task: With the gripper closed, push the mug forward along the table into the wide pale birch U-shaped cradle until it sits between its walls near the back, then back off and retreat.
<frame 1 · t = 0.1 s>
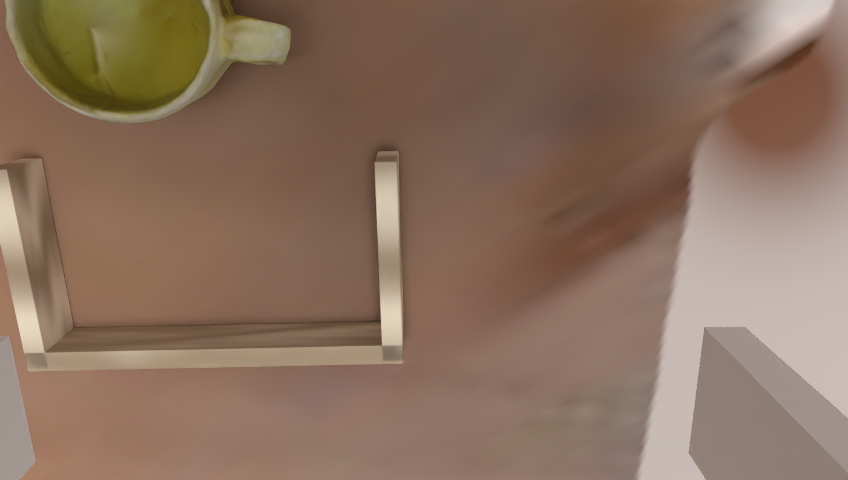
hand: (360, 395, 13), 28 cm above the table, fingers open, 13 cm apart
mug: (197, 31, 37), on the table
cradle: (219, 235, 41), on the table
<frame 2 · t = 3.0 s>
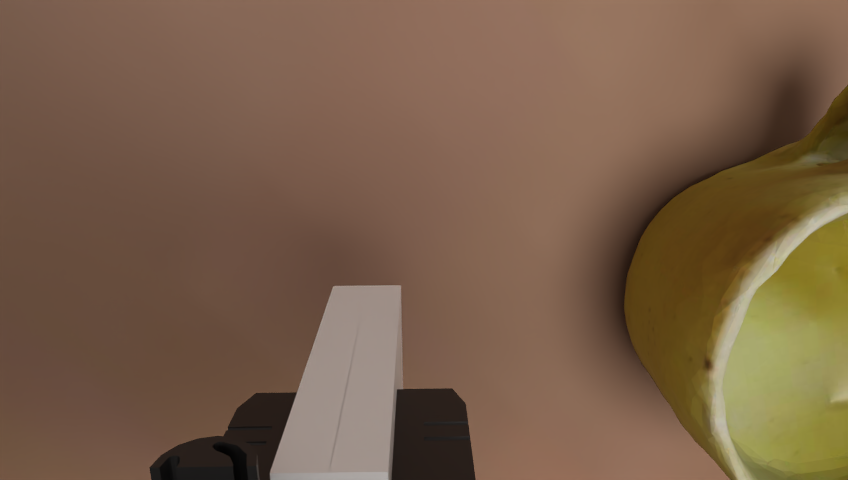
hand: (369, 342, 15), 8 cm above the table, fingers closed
mug: (751, 227, 22), on the table
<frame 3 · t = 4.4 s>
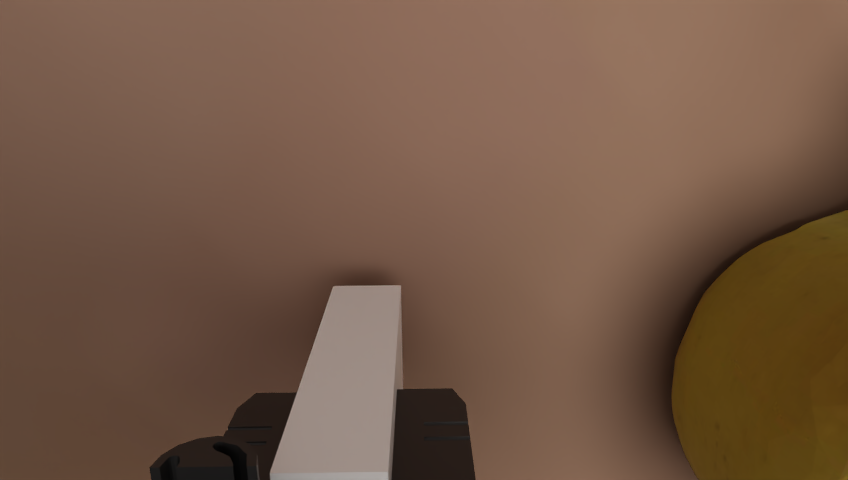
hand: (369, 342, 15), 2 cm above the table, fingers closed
mug: (839, 293, 17), on the table
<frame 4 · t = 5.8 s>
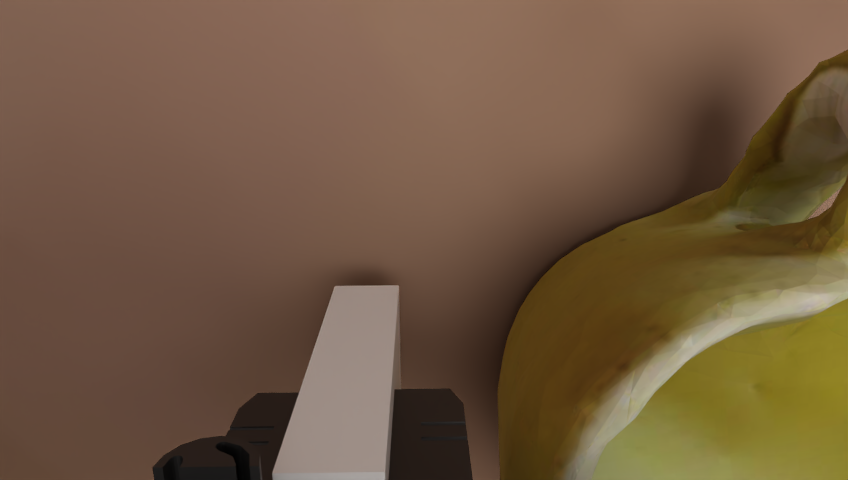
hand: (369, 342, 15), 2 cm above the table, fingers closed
mug: (671, 295, 17), on the table, touching gripper
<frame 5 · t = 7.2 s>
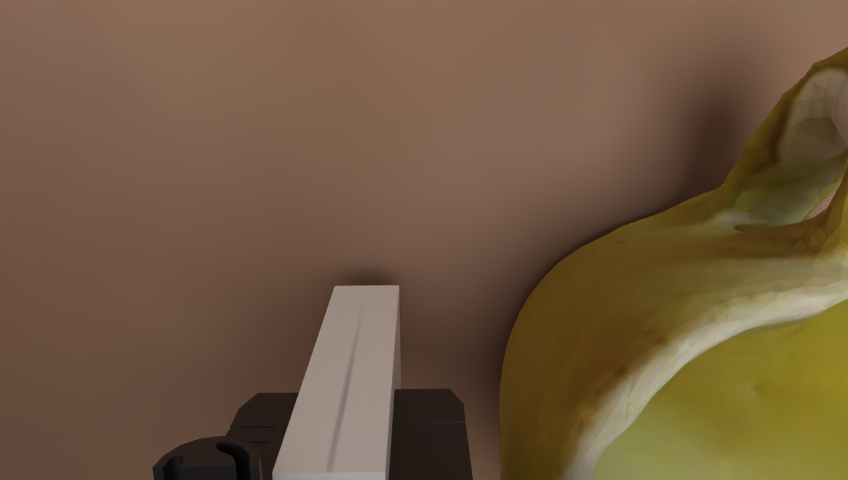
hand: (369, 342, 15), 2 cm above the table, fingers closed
mug: (672, 295, 17), on the table, touching gripper
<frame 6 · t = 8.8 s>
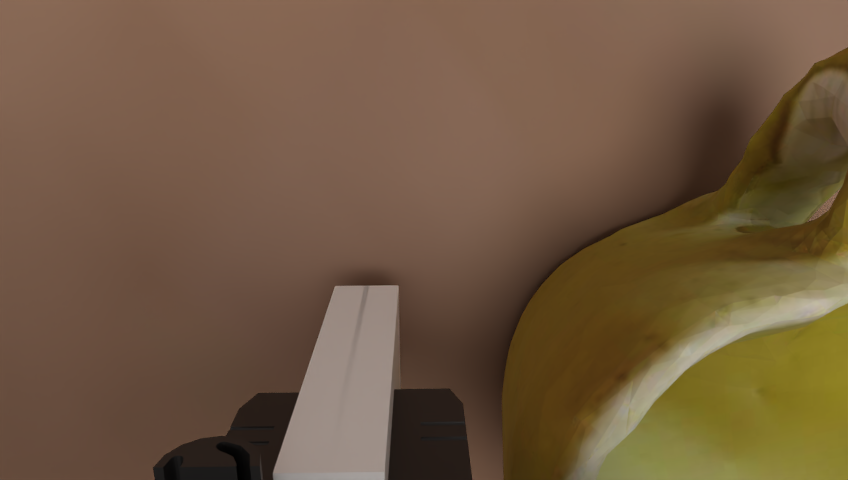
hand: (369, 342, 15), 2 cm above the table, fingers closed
mug: (675, 297, 17), on the table, touching gripper
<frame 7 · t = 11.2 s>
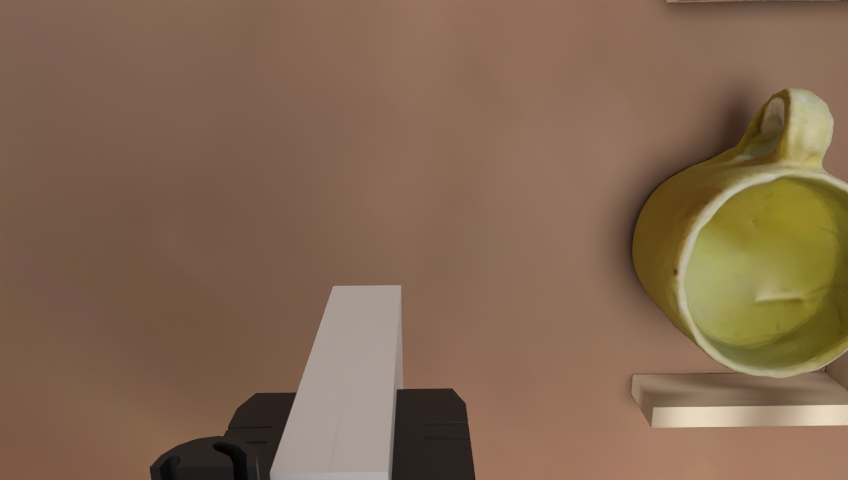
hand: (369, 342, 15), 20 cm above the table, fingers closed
mug: (713, 202, 35), on the table
cradle: (743, 203, 35), on the table
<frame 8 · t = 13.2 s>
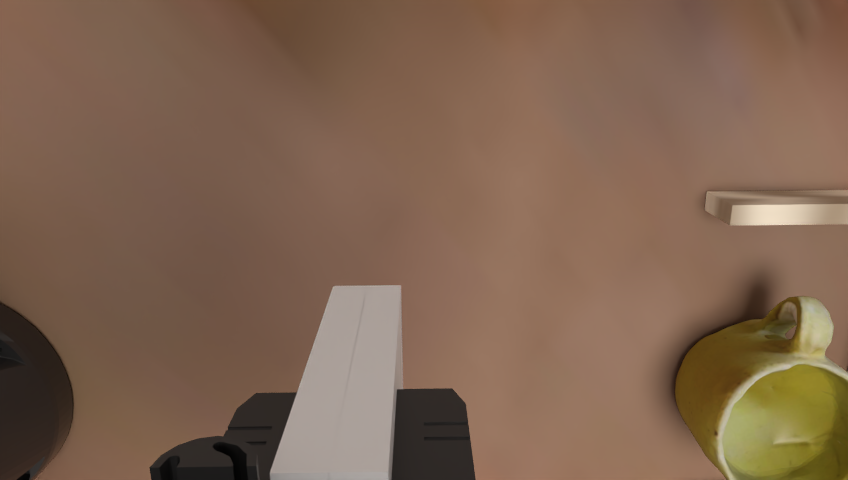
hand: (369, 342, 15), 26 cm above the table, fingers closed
mug: (738, 352, 45), on the table
cradle: (761, 353, 44), on the table
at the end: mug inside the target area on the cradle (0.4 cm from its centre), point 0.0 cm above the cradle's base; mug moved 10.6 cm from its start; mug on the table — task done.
